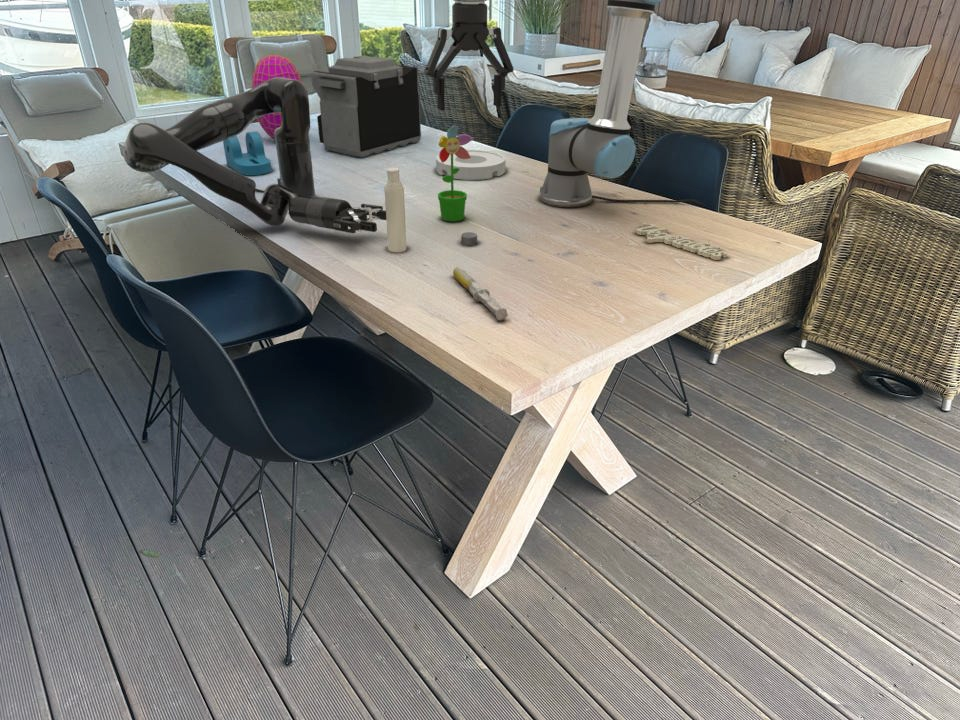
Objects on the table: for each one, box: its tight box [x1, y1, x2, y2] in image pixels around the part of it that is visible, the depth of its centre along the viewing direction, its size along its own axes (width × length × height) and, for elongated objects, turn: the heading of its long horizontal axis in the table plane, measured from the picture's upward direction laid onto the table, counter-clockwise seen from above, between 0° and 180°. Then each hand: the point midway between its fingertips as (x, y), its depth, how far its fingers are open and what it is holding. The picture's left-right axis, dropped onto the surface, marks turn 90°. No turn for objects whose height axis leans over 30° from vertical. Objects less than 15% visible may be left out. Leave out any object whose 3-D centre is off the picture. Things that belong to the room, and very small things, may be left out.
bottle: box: [383, 167, 407, 253], centre depth 163 cm, size 4×4×20 cm
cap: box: [460, 231, 478, 247], centre depth 172 cm, size 4×4×2 cm
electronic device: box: [310, 55, 422, 159], centre depth 250 cm, size 37×22×30 cm, turn 144°
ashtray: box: [435, 149, 507, 181], centre depth 229 cm, size 23×23×4 cm
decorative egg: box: [251, 54, 303, 140], centre depth 257 cm, size 19×19×30 cm
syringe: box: [452, 266, 509, 321], centre depth 145 cm, size 25×4×3 cm, turn 21°
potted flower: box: [437, 124, 474, 222], centre depth 182 cm, size 9×8×25 cm
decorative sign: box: [636, 222, 728, 261], centre depth 173 cm, size 26×1×10 cm
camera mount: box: [222, 131, 272, 176], centre depth 226 cm, size 18×10×10 cm, turn 35°
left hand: (385, 222), depth 166 cm, fingers open, 8 cm apart
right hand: (469, 107), depth 156 cm, fingers open, 13 cm apart
